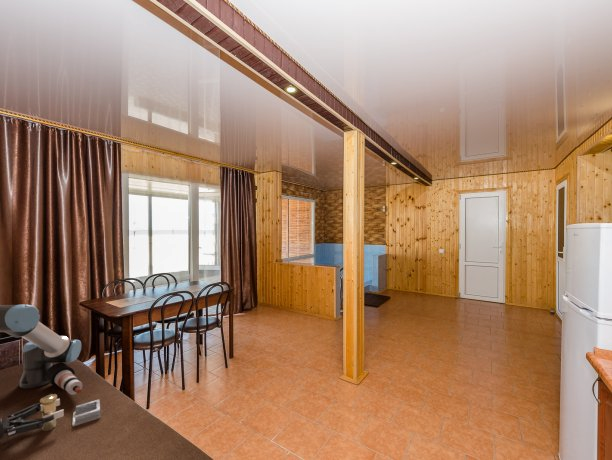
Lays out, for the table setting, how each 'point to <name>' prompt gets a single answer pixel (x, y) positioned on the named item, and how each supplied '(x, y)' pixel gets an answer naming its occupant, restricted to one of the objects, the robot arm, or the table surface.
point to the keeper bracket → (86, 412)
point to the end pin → (48, 410)
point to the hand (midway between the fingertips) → (61, 407)
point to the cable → (64, 378)
